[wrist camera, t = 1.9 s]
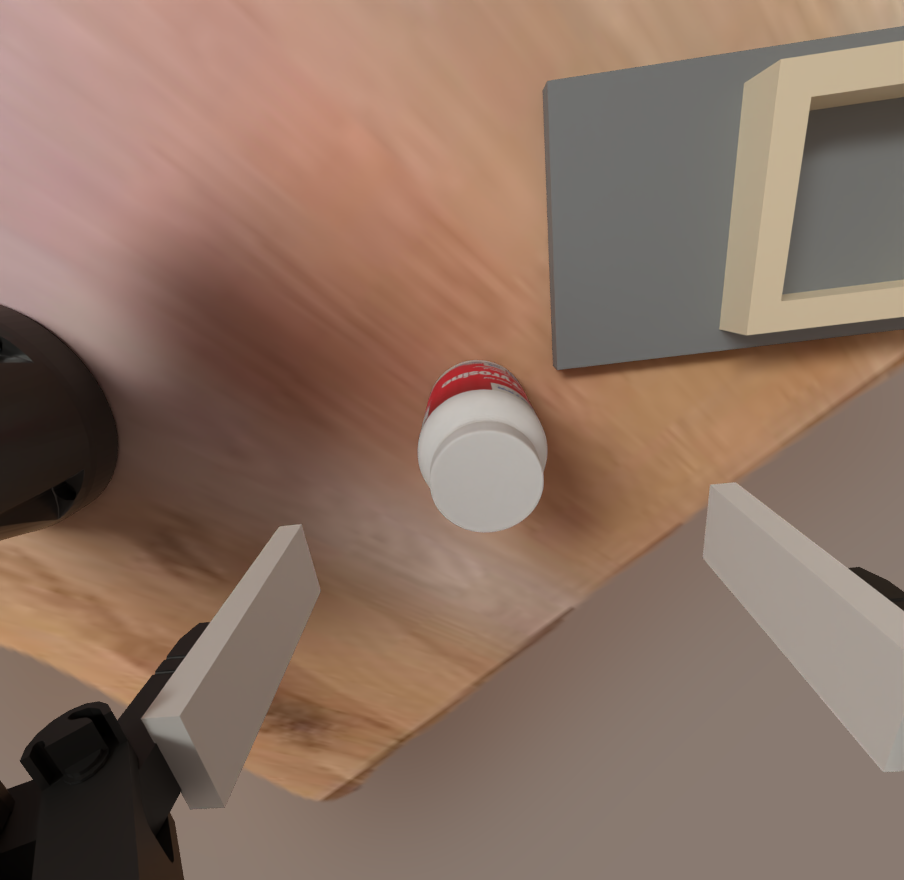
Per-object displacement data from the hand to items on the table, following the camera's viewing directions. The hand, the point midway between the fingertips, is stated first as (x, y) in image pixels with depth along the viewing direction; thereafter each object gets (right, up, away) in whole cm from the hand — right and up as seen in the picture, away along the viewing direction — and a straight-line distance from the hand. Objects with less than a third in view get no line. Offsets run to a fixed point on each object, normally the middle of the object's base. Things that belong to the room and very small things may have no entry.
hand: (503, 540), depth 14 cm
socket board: (+14, +15, +10) cm, 23 cm away
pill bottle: (0, +6, +14) cm, 15 cm away
